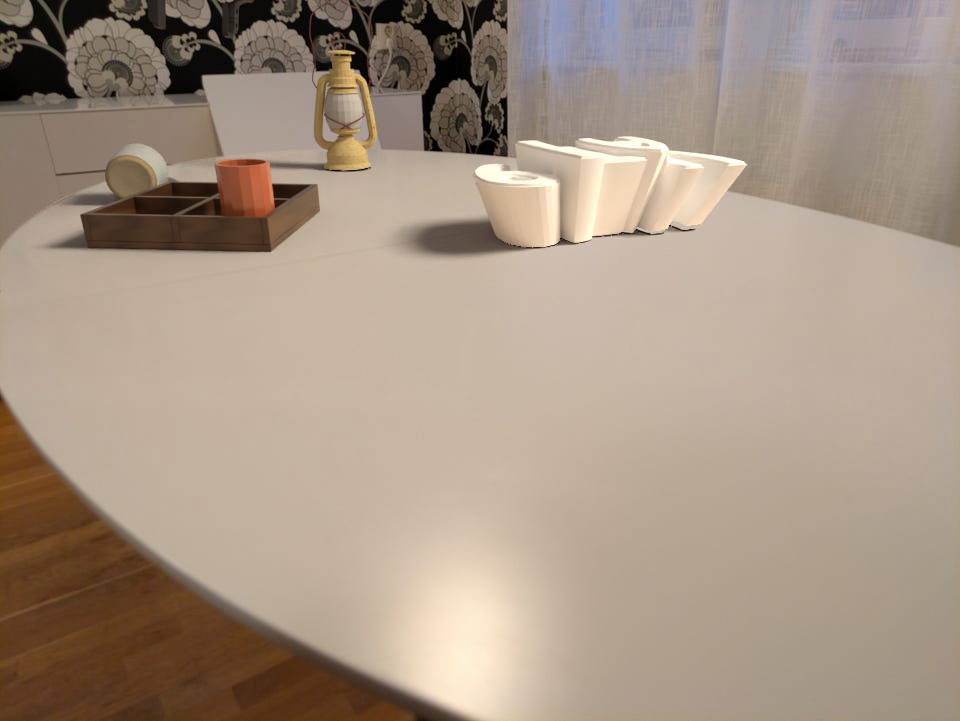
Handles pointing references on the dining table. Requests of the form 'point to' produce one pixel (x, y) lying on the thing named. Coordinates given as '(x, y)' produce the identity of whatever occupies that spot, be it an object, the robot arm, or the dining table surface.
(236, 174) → the cup
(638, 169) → the white wavy slab sculpture
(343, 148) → the lantern
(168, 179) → the ceramic mug
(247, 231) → the tray
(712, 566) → the dining table surface
